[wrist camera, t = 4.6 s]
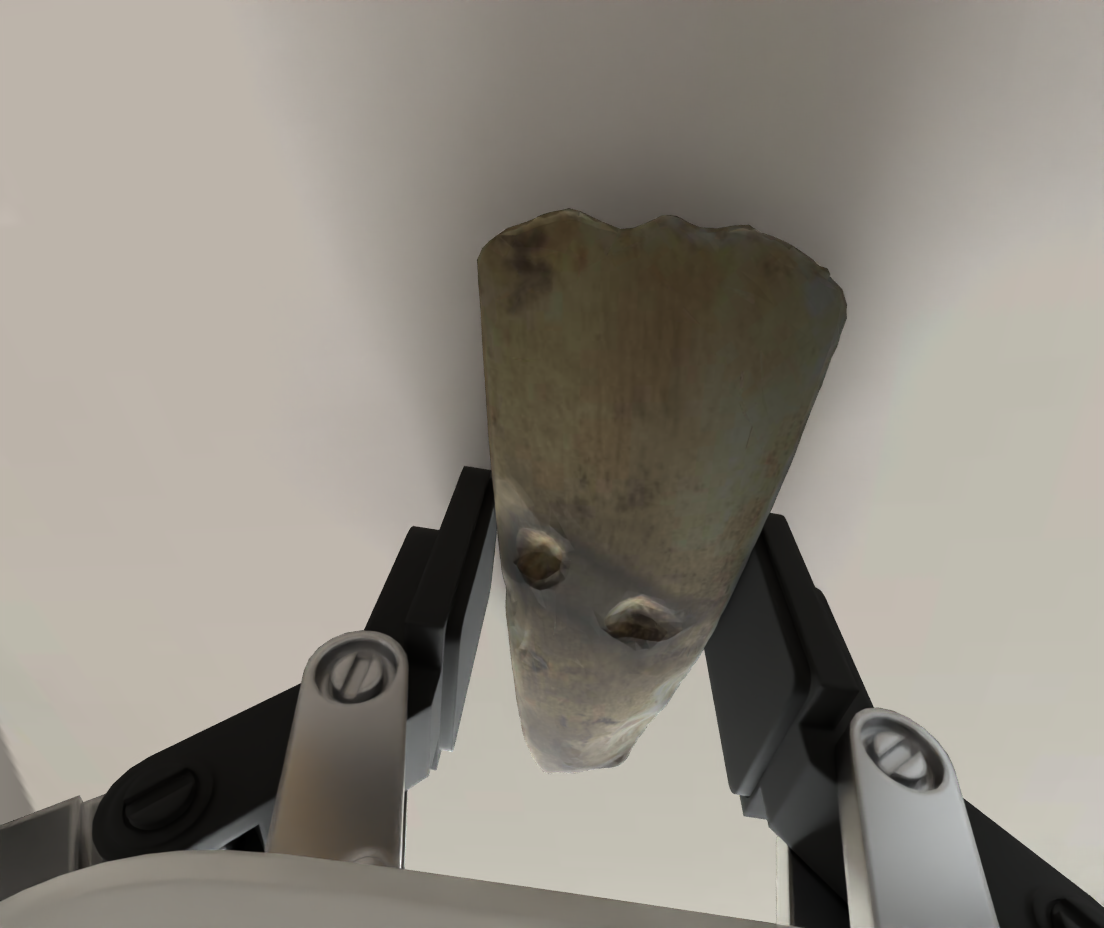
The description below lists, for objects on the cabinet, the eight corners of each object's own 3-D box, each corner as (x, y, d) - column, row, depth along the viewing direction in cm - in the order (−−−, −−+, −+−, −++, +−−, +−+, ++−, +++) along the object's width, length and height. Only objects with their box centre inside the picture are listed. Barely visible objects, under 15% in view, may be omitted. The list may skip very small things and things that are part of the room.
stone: (495, 184, 9) (464, 211, 7) (841, 198, 8) (911, 231, 6) (507, 722, 16) (494, 809, 14) (695, 738, 15) (708, 829, 14)
